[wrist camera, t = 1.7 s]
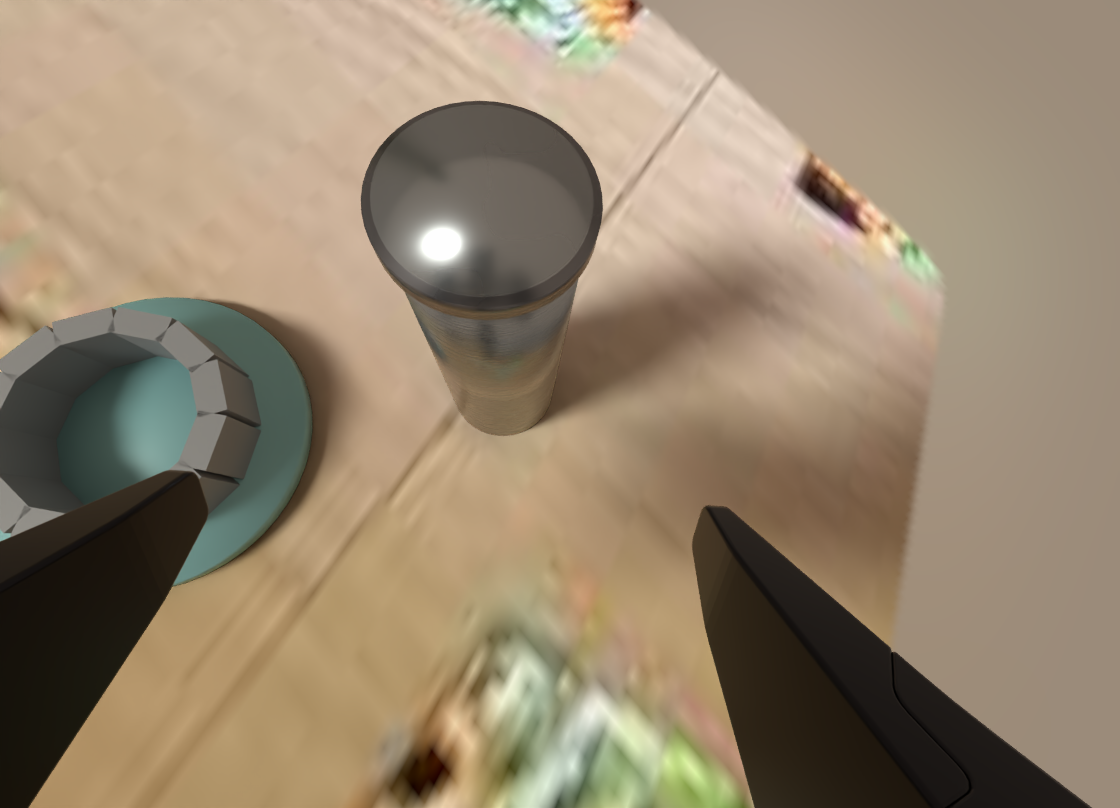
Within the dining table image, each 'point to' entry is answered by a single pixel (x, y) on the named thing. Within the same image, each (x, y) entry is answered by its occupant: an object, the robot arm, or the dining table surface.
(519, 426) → the gray tube
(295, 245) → the dining table surface
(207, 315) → the collar
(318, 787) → the dining table surface
